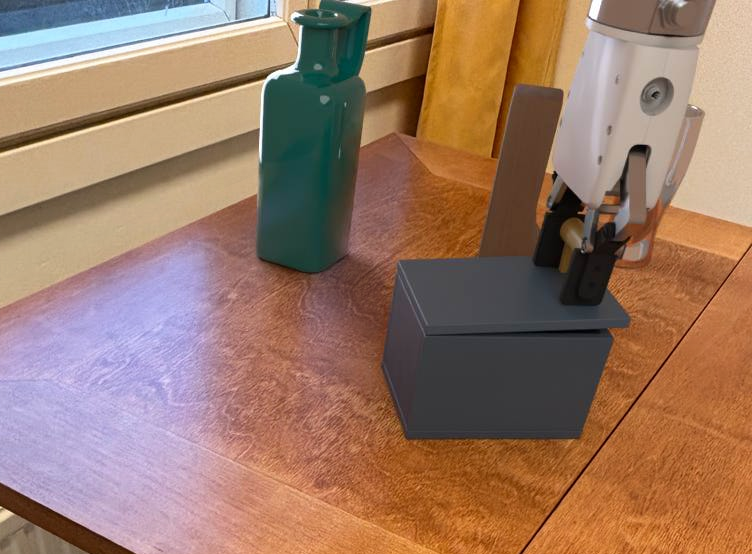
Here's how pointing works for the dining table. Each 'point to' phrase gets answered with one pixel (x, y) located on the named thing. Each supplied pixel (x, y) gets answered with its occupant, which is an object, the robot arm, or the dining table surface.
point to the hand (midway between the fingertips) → (565, 281)
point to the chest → (490, 379)
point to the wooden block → (521, 172)
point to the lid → (502, 294)
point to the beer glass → (662, 193)
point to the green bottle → (313, 140)
